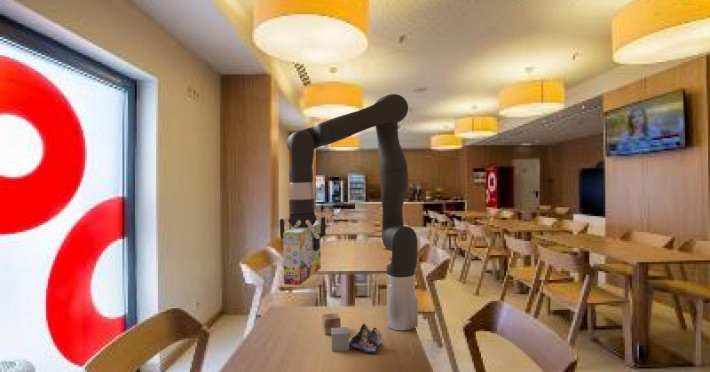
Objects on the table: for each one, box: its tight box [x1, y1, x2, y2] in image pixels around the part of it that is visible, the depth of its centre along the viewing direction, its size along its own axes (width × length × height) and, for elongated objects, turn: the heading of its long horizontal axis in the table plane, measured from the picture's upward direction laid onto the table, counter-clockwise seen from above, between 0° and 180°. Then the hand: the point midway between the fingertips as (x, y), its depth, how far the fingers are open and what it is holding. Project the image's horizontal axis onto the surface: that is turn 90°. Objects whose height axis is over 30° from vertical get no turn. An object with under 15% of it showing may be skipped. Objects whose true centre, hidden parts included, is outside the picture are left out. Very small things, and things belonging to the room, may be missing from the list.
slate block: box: [330, 326, 350, 352], centre depth 127 cm, size 5×5×5 cm
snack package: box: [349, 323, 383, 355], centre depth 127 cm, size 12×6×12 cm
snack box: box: [282, 222, 322, 286], centre depth 131 cm, size 21×6×15 cm, turn 169°
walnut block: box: [321, 312, 342, 336], centre depth 139 cm, size 5×5×5 cm
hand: (303, 251), depth 131 cm, fingers closed on snack box, 7 cm apart
